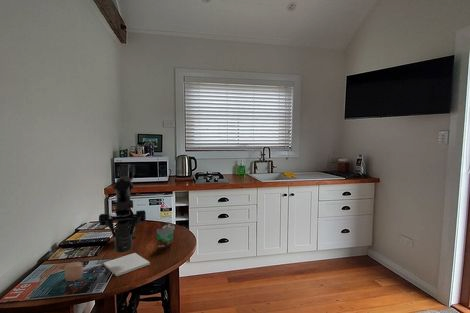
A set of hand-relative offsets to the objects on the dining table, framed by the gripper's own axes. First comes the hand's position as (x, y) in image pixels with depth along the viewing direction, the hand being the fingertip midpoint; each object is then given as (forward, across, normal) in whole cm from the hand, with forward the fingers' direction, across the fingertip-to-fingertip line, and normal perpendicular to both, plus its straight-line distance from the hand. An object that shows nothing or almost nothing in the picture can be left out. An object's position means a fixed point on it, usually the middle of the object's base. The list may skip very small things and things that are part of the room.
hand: (122, 235), depth 113 cm
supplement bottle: (+4, 0, +6) cm, 7 cm away
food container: (-2, +20, +22) cm, 30 cm away
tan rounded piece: (+12, -18, +7) cm, 23 cm away
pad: (+9, +1, +10) cm, 13 cm away
